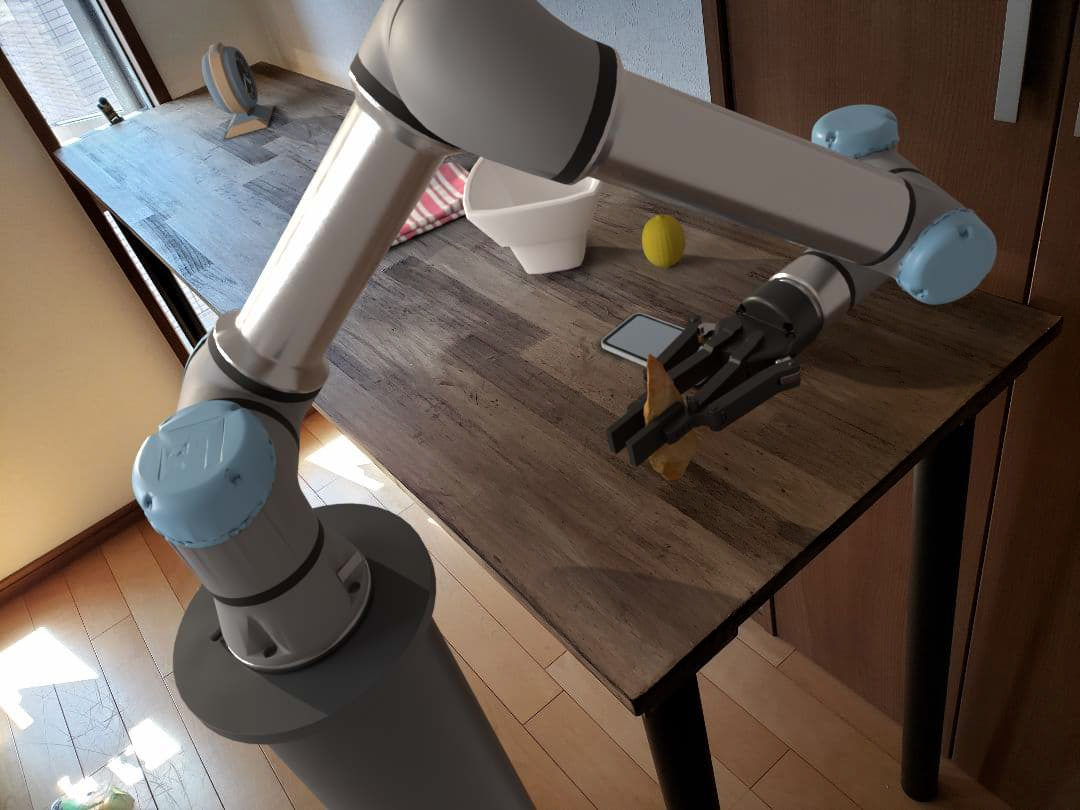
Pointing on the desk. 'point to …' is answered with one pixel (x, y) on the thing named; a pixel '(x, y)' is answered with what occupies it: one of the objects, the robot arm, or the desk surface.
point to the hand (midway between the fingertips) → (621, 448)
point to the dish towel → (437, 202)
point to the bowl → (532, 214)
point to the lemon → (663, 240)
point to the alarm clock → (234, 89)
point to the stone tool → (659, 399)
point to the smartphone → (641, 338)
